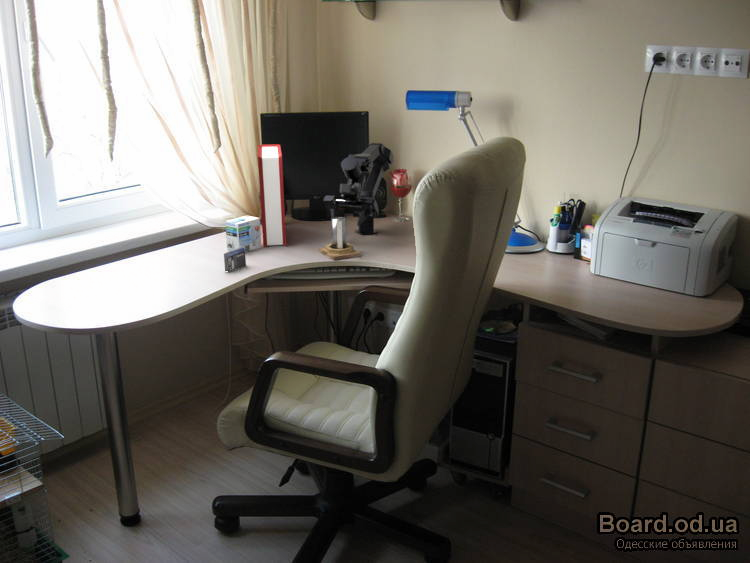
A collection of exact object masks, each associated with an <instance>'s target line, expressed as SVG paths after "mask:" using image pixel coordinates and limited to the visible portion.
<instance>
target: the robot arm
mask: <svg viewBox="0 0 750 563" xmlns="http://www.w3.org/2000/svg"><path fill="white" fill-rule="evenodd" d="M394 158H395V156H394V154H393V152H392V150H391V149H389V148H388V147H386V146H385V144H384V143H381V142H371V143H369V146H367V148H366V149H365V150H364V151H363V152H362V153H358V154H357V153H356V154H348V157H345V158H344V159H343V160H342V161H341V162H340V167H341V169H342V171H343V173H344V176H345V177H346V178H347V183H340V184H339V190H338V192H339V194H341V195H340V197H341V198H342V199H337V197H336V195H328V194H327V195H325V196H324V197H323V198H322V199H323V200H322V203H323V204H324V207H325V208H326V210H329V212H330V216H331V218H334V217H338V216H337V215H338V214H339V213H338V212H339V210H338V209H339V207H342V206H343V207H351V210H352V217H353V218H357V219H358V220H357V224H356V225H357V228H358V229H355V230H354V232H355V233H356V234H359V235H361V236H365V235H366V236H367V235H373V234H378V230H375V220H374V219H377V218H379V215H380V214H379V205H378V202H377V200H376V198H375V196H376V193H377V190H379V186H380V183H381V180H382V178H383V176H384V173H385V172H387V171H388V170H390V169H391V167H392V164H394V161H395V159H394ZM365 173H369V175H368V177H367V180H366V175H365Z"/></svg>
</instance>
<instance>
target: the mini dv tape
mask: <svg viewBox="0 0 750 563" xmlns="http://www.w3.org/2000/svg"><path fill="white" fill-rule="evenodd" d="M223 259H224V261H223V262H224V271H228V272H227V273H231V272H233V271H232V270H234V271H236V270H235V269H237V270H239V269H241V267H242V268H244V267H246V266H247V264H246V263H247V262H246V261H247V260H246V259H247V258H246V252H245V249H244V248H238V249H236V250H233V251H227V252H225V253H223ZM238 268H239V269H238ZM230 271H231V272H230Z"/></svg>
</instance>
